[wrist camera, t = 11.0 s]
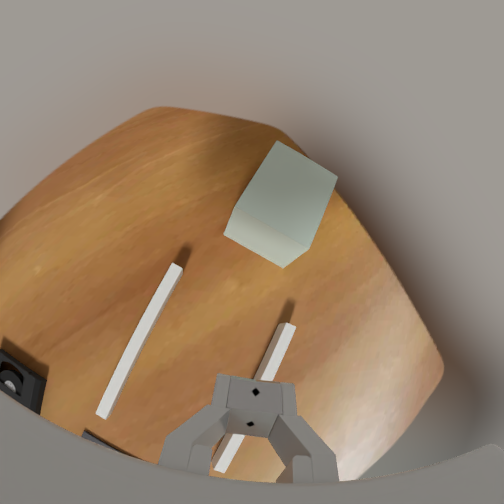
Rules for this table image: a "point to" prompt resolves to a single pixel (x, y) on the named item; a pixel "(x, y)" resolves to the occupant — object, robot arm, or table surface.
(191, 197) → the table surface
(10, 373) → the vhs tape
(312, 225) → the sage block
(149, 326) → the channel
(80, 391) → the table surface
